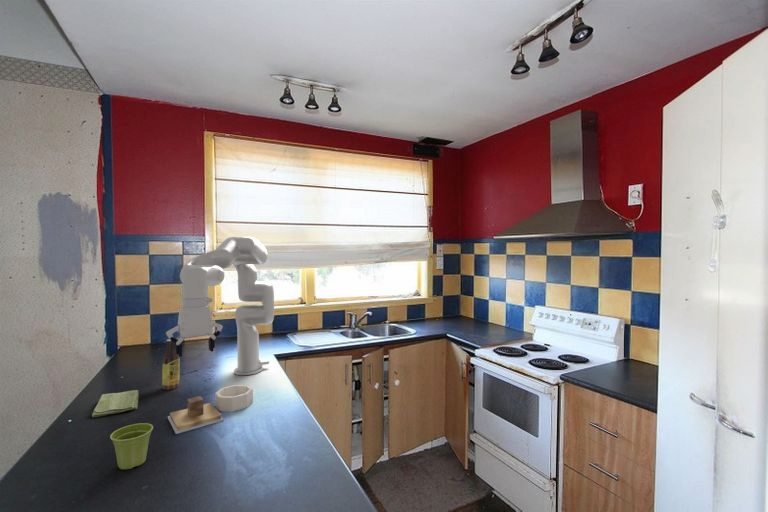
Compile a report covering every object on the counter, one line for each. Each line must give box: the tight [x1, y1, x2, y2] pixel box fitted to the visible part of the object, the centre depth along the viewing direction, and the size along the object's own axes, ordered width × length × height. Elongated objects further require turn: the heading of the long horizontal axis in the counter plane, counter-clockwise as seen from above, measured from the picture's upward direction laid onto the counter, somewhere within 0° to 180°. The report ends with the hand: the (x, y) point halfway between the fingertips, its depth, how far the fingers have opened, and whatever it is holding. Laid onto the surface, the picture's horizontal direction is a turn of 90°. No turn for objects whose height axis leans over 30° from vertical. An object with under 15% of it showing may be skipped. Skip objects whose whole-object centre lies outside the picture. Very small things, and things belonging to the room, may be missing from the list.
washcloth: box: [91, 389, 139, 418], centre depth 133 cm, size 13×18×3 cm
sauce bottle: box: [161, 338, 181, 391], centre depth 150 cm, size 7×6×20 cm
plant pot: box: [109, 422, 154, 470], centre depth 97 cm, size 9×9×9 cm
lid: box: [169, 395, 223, 431], centre depth 122 cm, size 13×13×6 cm
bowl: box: [214, 384, 254, 413], centre depth 134 cm, size 12×12×5 cm
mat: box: [167, 415, 224, 435], centre depth 122 cm, size 14×14×1 cm
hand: (195, 353), depth 122 cm, fingers open, 9 cm apart
